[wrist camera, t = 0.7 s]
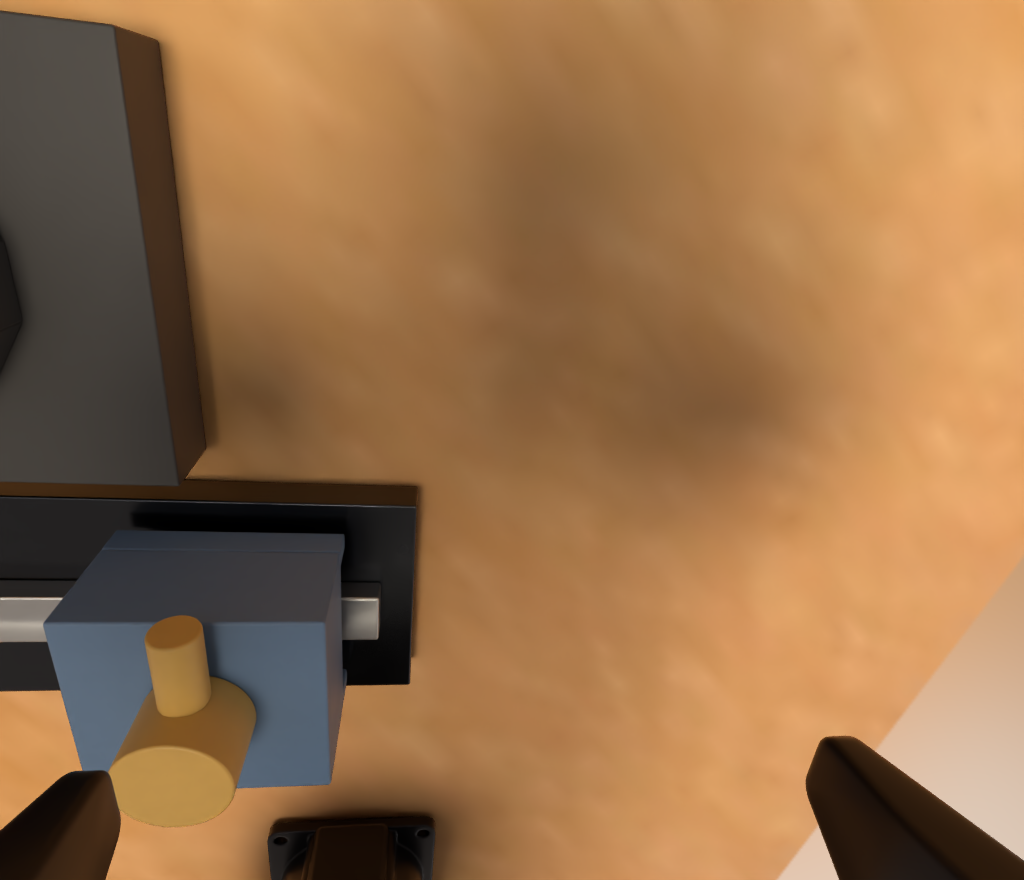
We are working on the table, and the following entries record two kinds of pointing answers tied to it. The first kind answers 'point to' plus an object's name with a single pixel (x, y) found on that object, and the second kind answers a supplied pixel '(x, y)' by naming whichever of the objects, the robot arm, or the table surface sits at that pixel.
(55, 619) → the blue cube with peg
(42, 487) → the rail
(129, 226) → the box
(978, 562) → the table surface
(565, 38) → the table surface
